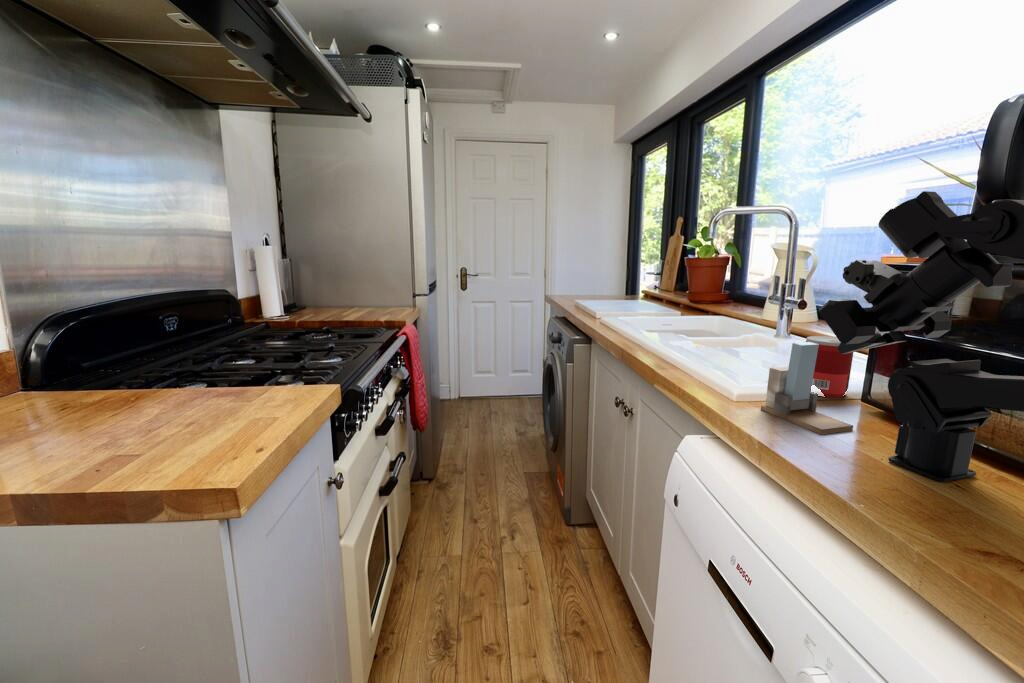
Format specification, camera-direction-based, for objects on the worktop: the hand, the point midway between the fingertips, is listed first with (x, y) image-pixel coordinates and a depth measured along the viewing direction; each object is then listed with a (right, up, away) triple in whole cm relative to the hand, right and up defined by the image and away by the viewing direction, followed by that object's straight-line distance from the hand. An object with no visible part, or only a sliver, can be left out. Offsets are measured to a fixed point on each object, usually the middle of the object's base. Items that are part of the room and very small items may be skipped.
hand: (840, 351), depth 72 cm
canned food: (+12, -9, +22) cm, 26 cm away
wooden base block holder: (-2, -12, +7) cm, 14 cm away
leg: (-2, -9, +8) cm, 12 cm away
